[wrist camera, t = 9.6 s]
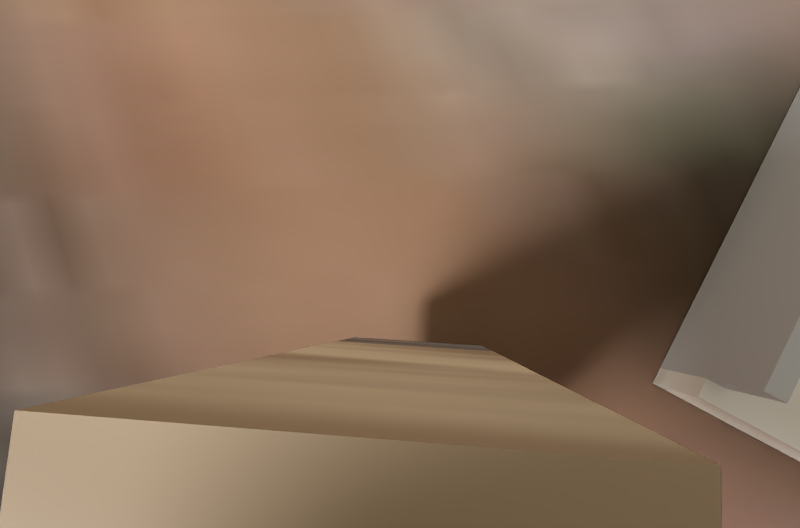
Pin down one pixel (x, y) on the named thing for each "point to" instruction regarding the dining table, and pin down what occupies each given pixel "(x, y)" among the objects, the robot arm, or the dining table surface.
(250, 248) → the dining table surface
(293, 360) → the birch block
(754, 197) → the white open box
